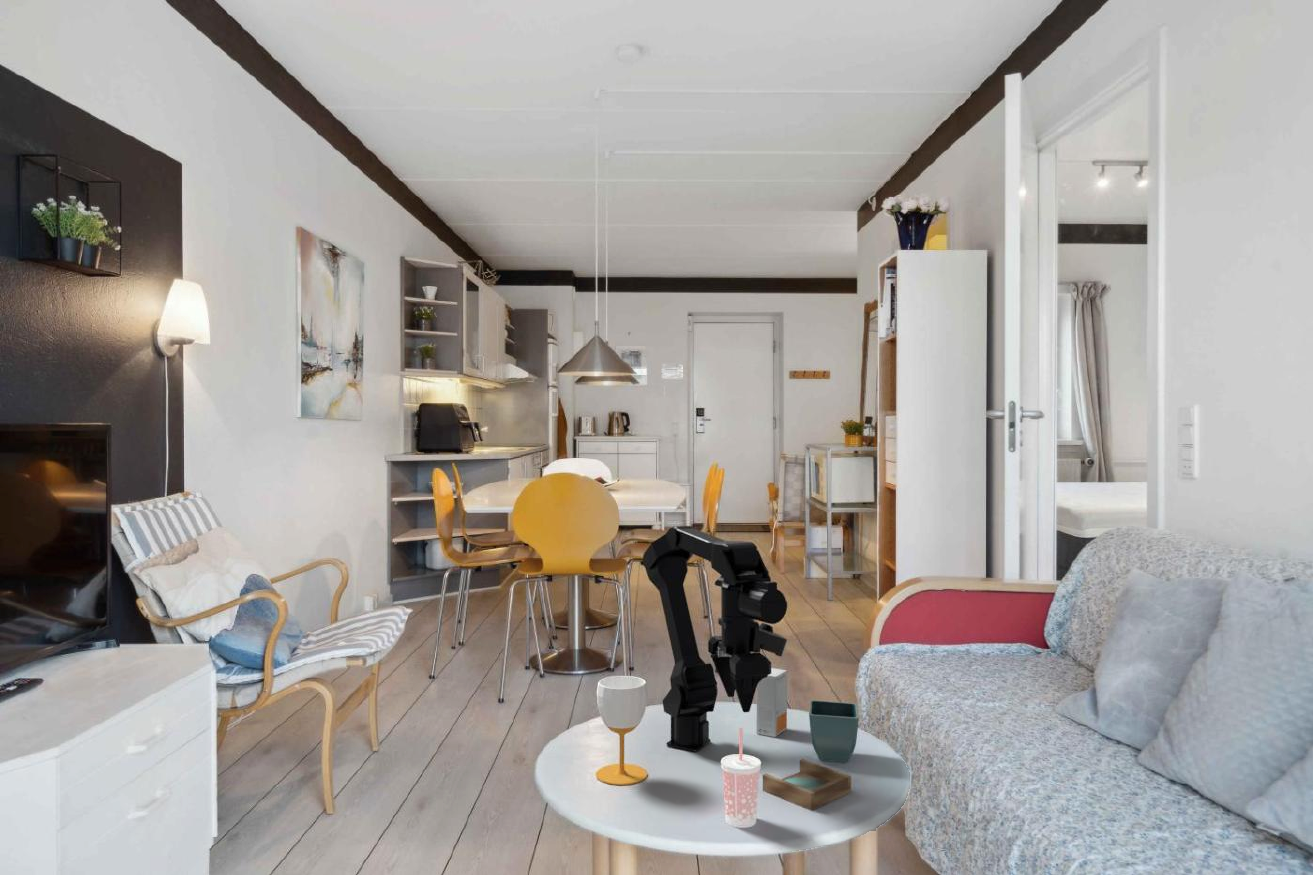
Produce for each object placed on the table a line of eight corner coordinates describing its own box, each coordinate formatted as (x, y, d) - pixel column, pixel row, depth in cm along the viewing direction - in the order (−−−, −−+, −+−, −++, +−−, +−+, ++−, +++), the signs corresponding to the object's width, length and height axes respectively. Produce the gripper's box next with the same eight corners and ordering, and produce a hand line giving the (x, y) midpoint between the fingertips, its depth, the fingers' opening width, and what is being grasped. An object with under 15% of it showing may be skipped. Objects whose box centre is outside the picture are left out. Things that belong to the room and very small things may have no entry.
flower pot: (859, 768, 144) (859, 717, 145) (808, 764, 146) (808, 714, 146) (857, 750, 153) (857, 702, 153) (809, 747, 155) (809, 699, 155)
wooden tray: (762, 790, 135) (762, 774, 135) (802, 773, 142) (802, 758, 142) (811, 810, 127) (811, 793, 127) (851, 791, 134) (851, 776, 134)
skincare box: (775, 738, 160) (775, 676, 160) (755, 734, 162) (756, 673, 162) (787, 729, 165) (787, 669, 165) (768, 725, 167) (768, 666, 167)
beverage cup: (766, 816, 125) (766, 725, 125) (753, 833, 120) (753, 737, 120) (728, 809, 128) (728, 719, 128) (714, 825, 122) (715, 731, 122)
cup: (623, 761, 147) (624, 672, 148) (658, 775, 141) (659, 682, 141) (584, 774, 141) (585, 681, 141) (619, 790, 135) (620, 692, 135)
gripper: (800, 622, 135) (801, 717, 135) (764, 603, 153) (765, 687, 153) (736, 625, 133) (736, 721, 132) (707, 605, 151) (707, 690, 151)
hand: (738, 704), depth 142 cm, fingers open, 9 cm apart
